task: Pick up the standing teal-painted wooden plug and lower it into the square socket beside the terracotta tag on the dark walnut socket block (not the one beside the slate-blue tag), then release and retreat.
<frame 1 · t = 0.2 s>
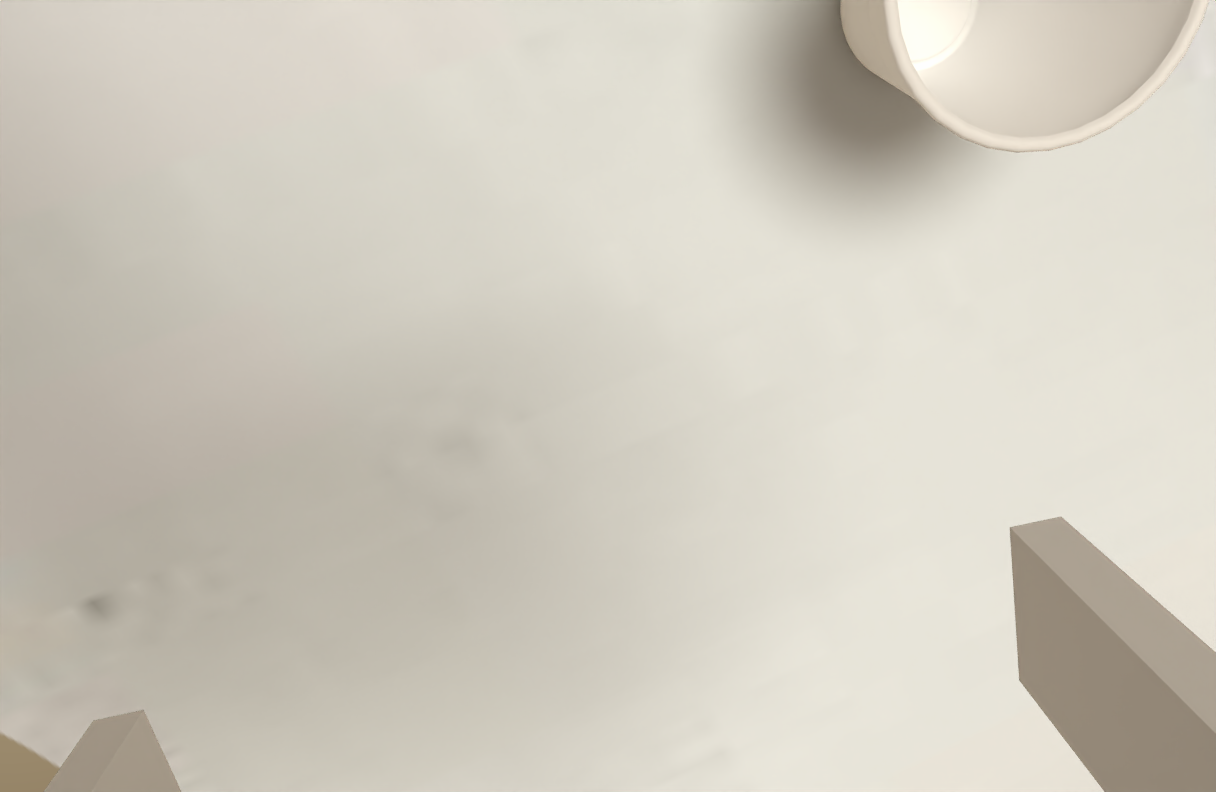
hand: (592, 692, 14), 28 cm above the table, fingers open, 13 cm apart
cup: (911, 2, 37), on the table
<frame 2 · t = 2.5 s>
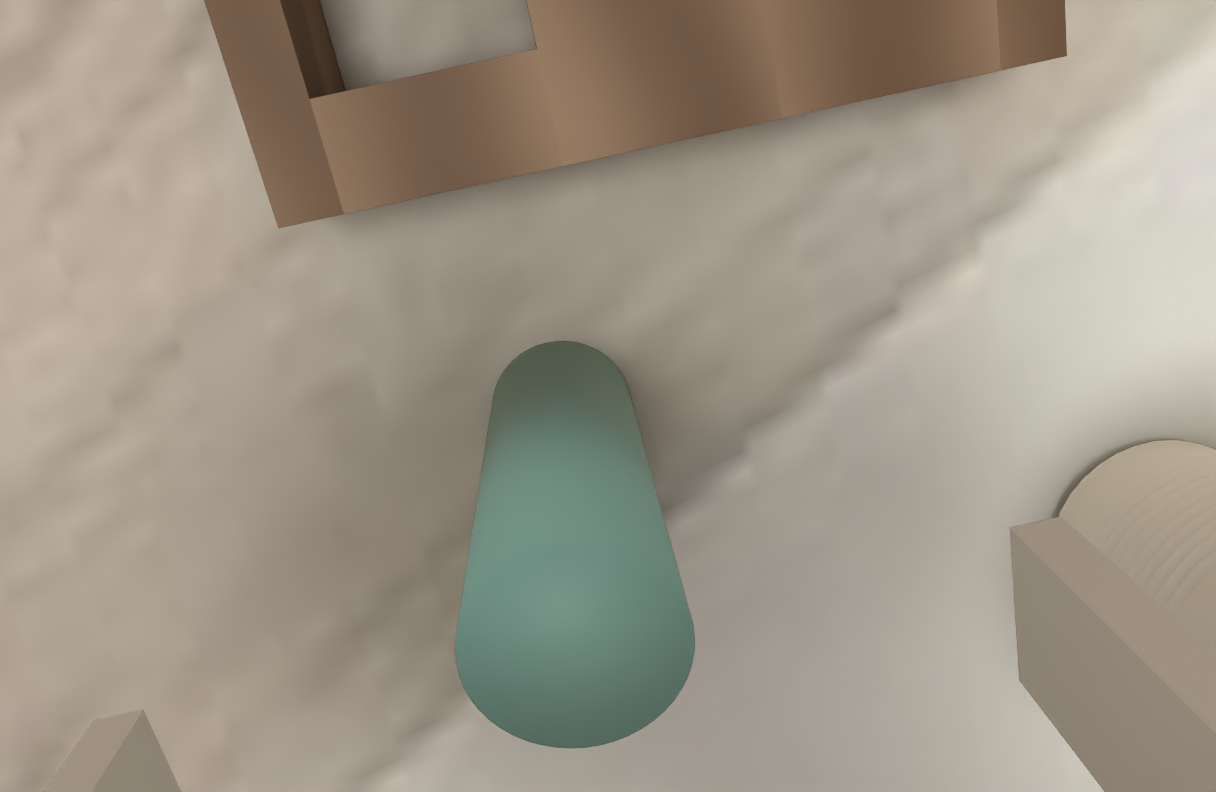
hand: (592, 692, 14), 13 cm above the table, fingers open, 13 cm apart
cup: (1136, 522, 29), on the table
plug: (561, 407, 27), on the table
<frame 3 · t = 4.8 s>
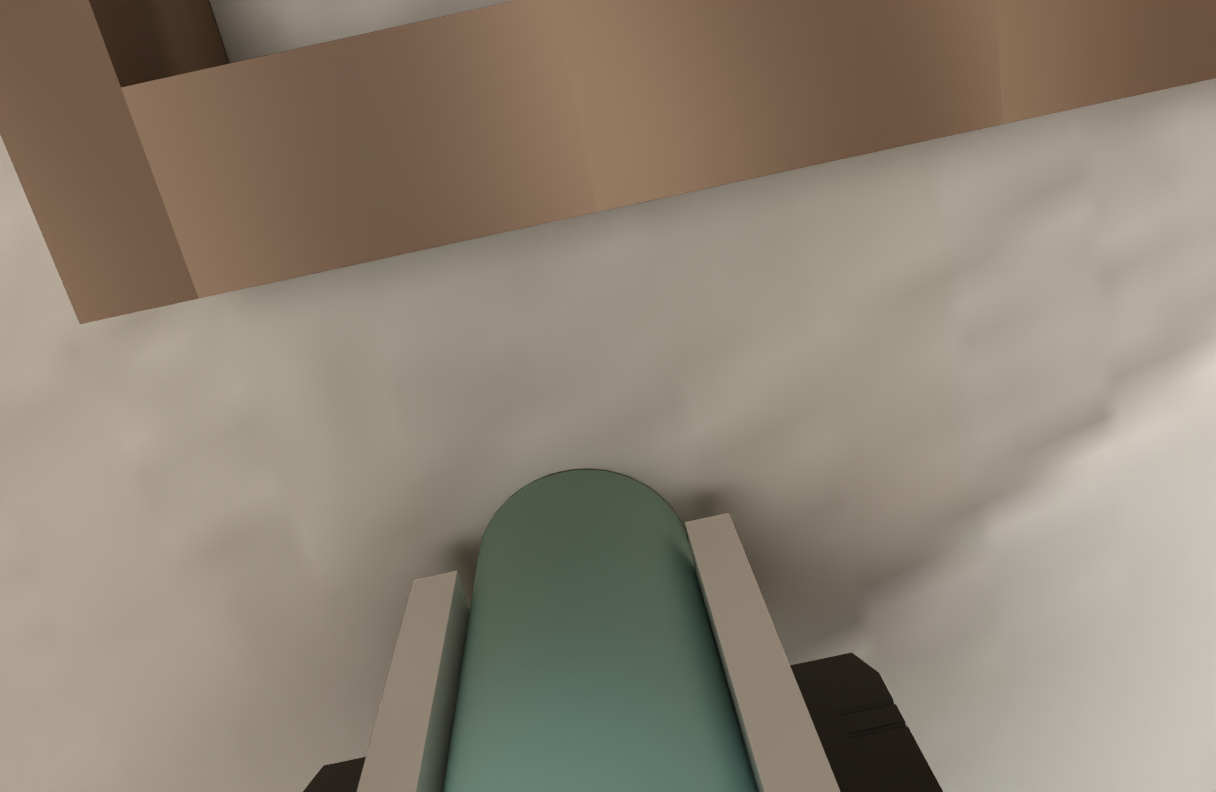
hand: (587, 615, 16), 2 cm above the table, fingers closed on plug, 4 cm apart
plug: (584, 566, 17), on the table, touching gripper
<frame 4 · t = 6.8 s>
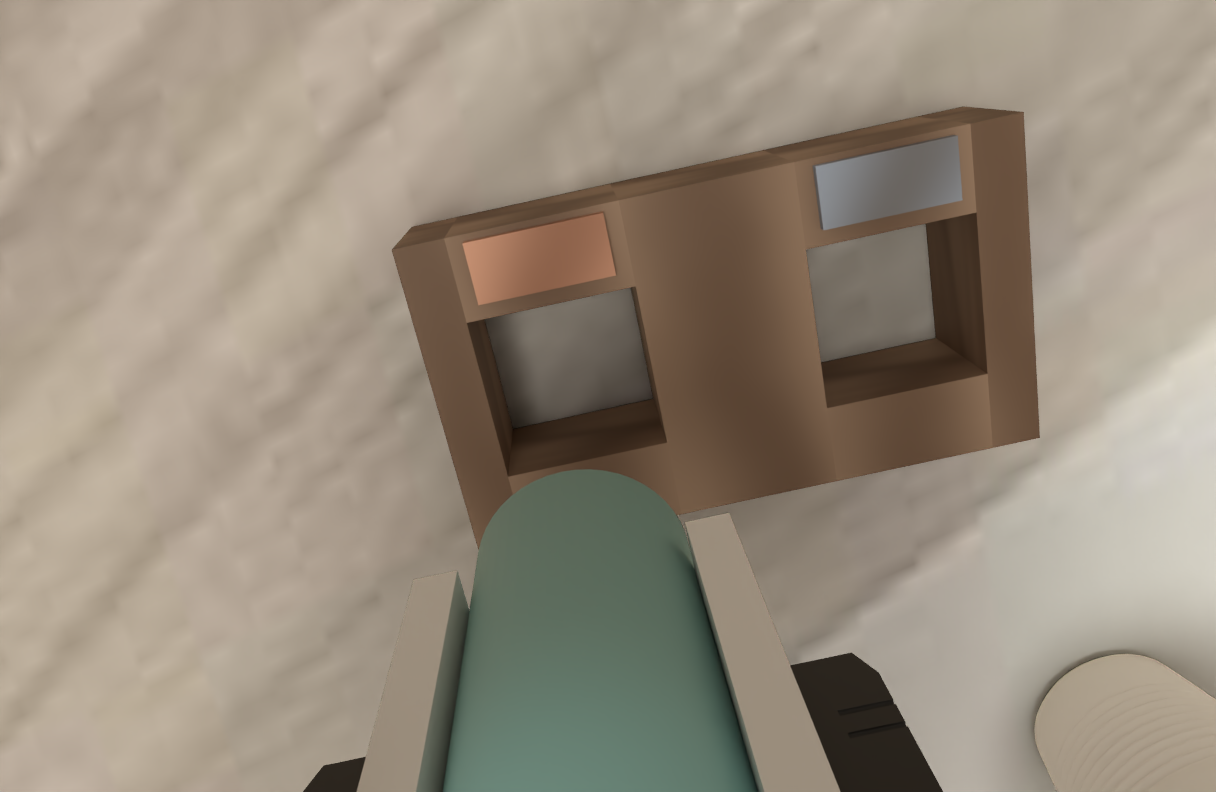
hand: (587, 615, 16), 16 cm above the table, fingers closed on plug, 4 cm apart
socket block: (712, 315, 31), on the table
cup: (1100, 708, 38), on the table
plug: (584, 566, 17), point 15 cm above the table, touching gripper
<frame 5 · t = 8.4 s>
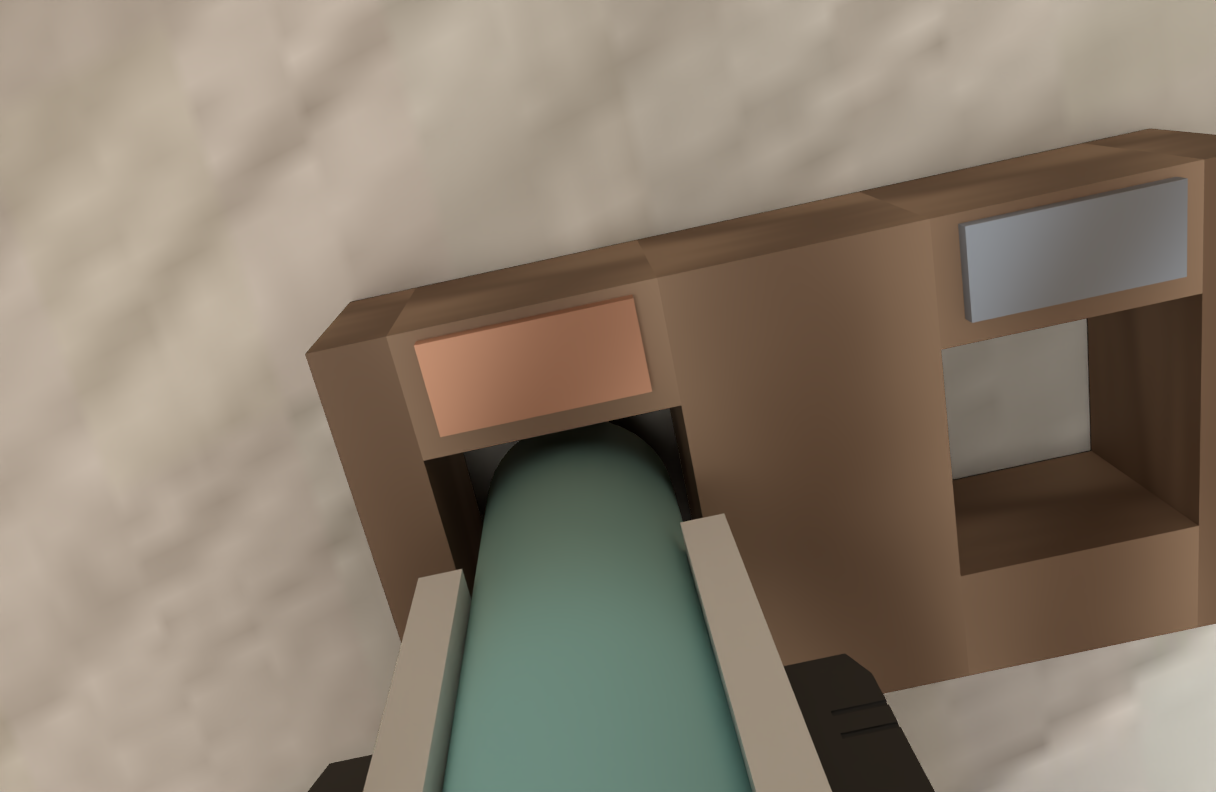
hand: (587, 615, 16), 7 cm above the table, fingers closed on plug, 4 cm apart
socket block: (779, 422, 22), on the table
plug: (581, 506, 20), point 2 cm above the table, touching gripper
when the fingers open (5 cm above the table, at t = 9.4 s): plug drops 1 cm, resting in socket block.
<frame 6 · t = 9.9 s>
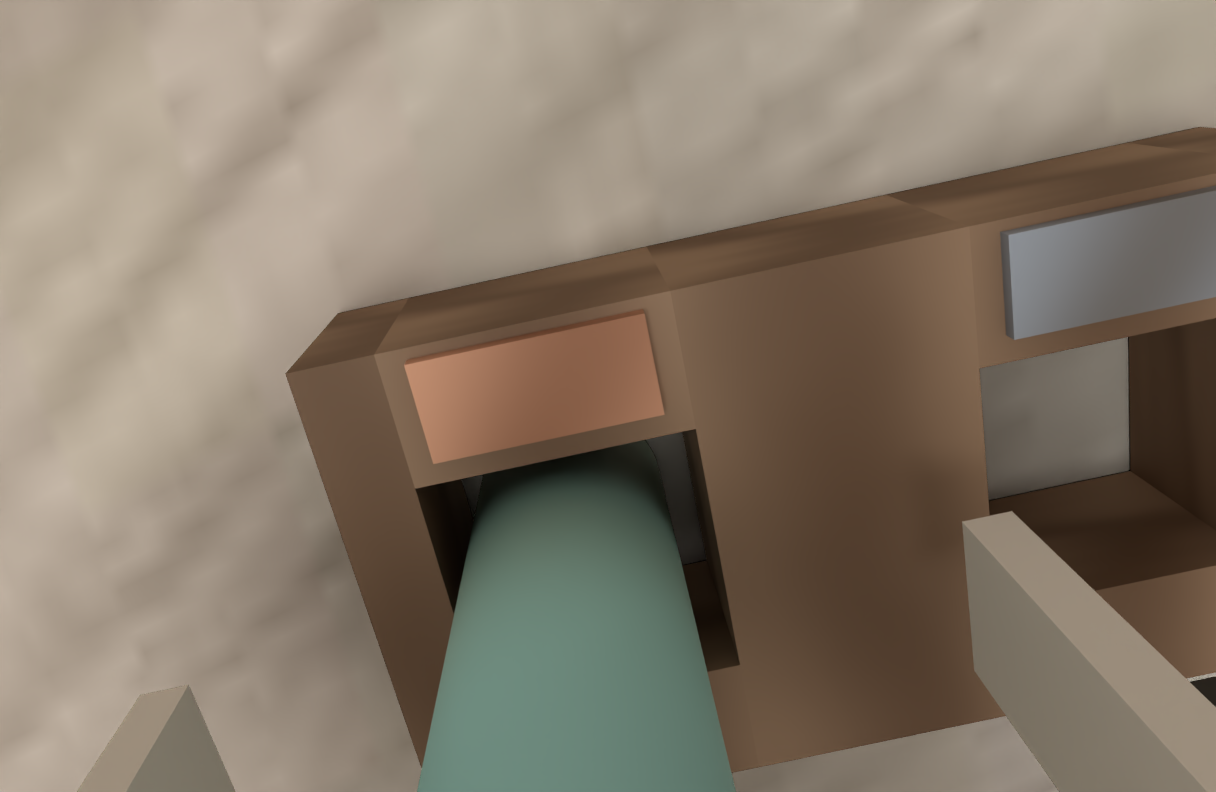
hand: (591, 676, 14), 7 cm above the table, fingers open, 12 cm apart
socket block: (798, 441, 21), on the table
plug: (571, 489, 21), resting in socket block
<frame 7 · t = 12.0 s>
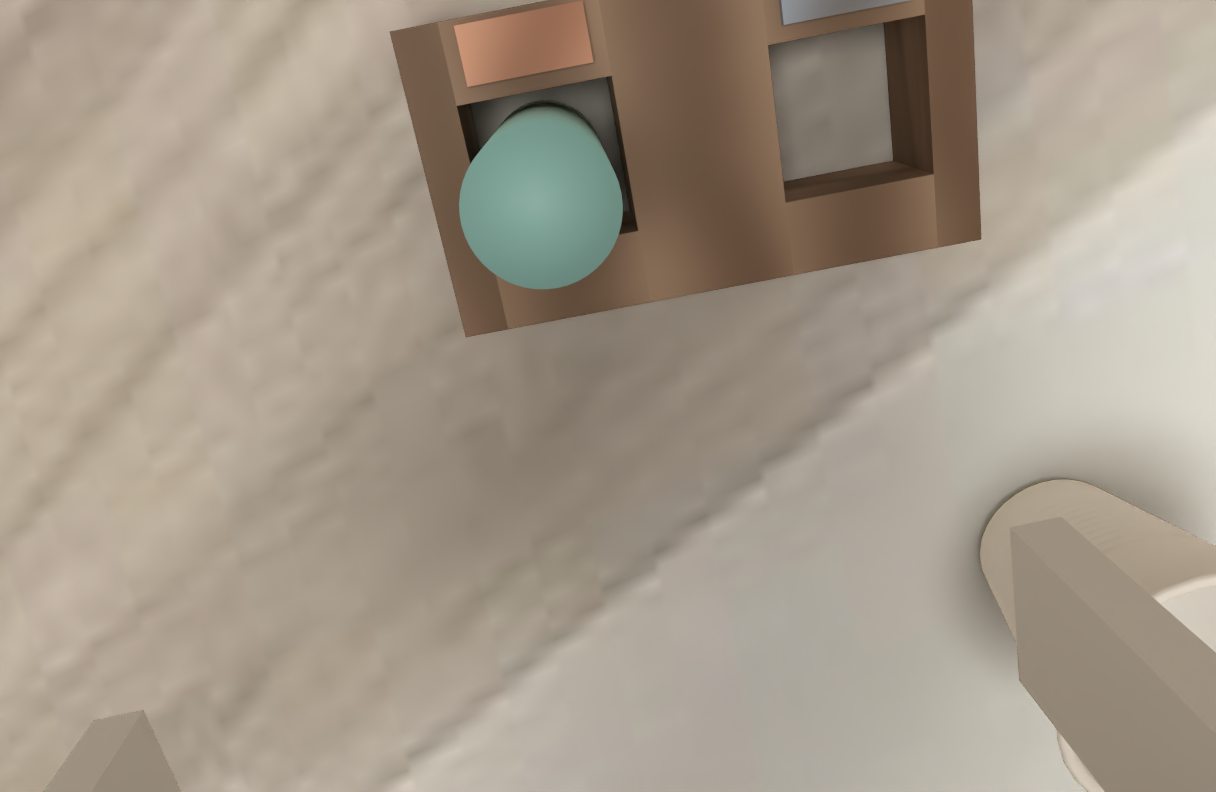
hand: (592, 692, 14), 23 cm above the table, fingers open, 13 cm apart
socket block: (685, 130, 34), on the table
cup: (1043, 536, 41), on the table
plug: (546, 157, 34), resting in socket block
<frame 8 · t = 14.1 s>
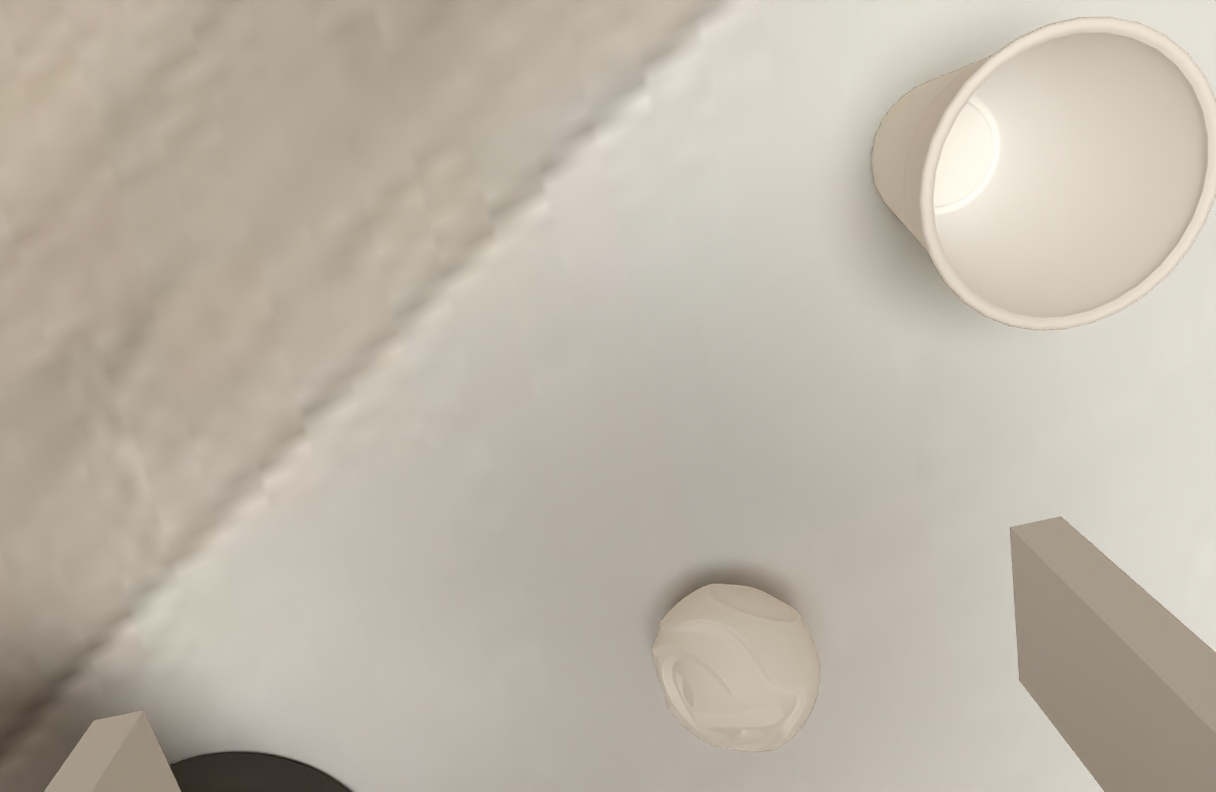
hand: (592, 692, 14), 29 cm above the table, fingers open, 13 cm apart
cup: (936, 152, 40), on the table
beige round lump: (721, 617, 48), on the table
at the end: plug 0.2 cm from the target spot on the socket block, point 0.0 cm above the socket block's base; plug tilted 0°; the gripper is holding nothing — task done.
